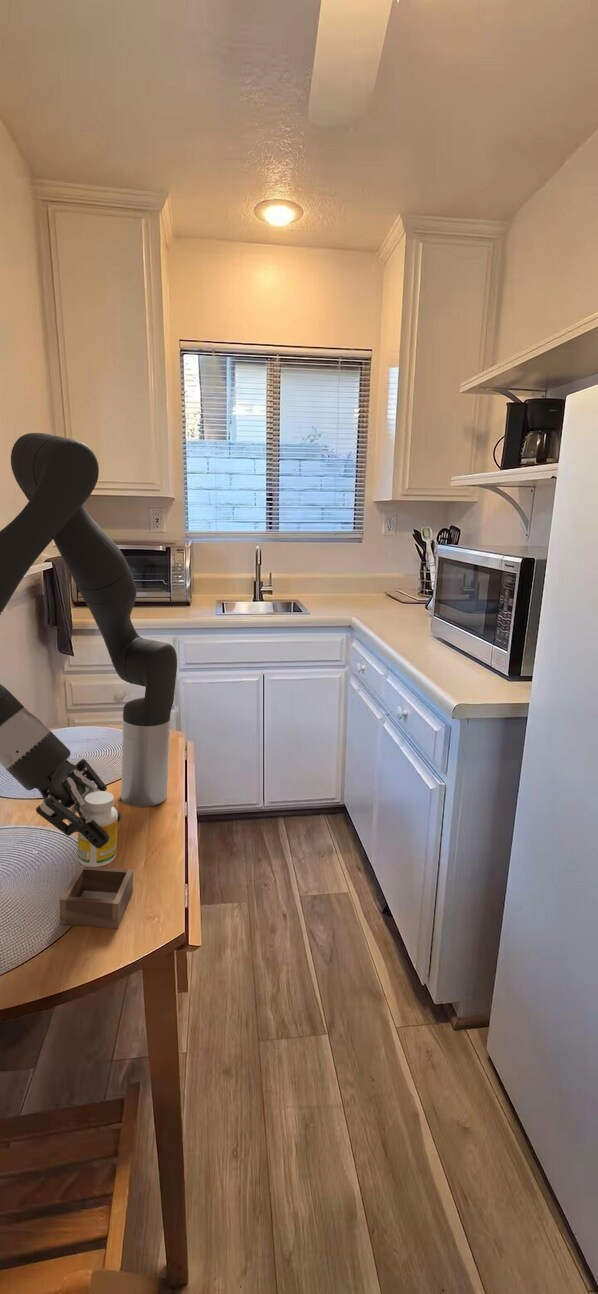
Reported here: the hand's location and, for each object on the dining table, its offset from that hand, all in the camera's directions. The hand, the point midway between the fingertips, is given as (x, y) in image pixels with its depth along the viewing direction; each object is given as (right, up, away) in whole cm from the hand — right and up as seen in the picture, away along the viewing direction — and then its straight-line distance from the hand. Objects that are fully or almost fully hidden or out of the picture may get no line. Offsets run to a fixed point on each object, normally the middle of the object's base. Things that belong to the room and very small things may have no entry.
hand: (110, 832), depth 85 cm
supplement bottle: (-2, -4, +1) cm, 5 cm away
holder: (-3, -12, +3) cm, 13 cm away
